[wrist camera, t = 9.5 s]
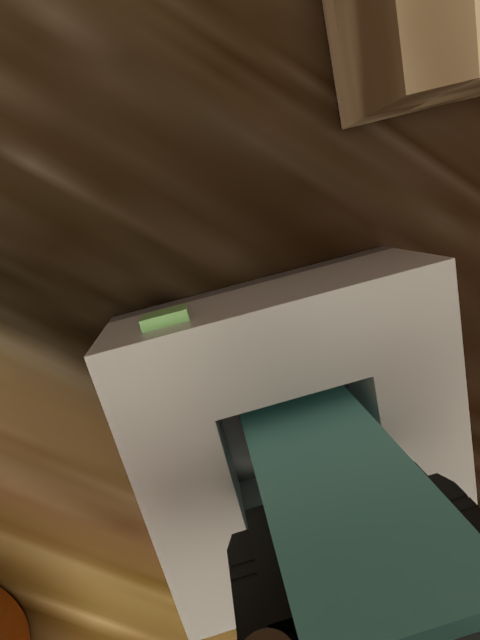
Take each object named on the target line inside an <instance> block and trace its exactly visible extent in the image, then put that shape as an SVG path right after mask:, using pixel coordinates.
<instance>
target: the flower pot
mask: <svg viewBox="0 0 480 640" xmlns="http://www.w3.org/2000/svg"><path fill="white" fill-rule="evenodd" d="M0 640H31V637H30V630H29V625H28V621H27V619H26V616H25V614H24V612H23V611H22V609H21V608H20V606H19V605H18V603H17V602H16V601H15V600H14V599H13V598H12V597H11V596H10V595H9V594H8V593H7V592H6V591H5V590H3V589H2V588H1V587H0Z"/></svg>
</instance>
